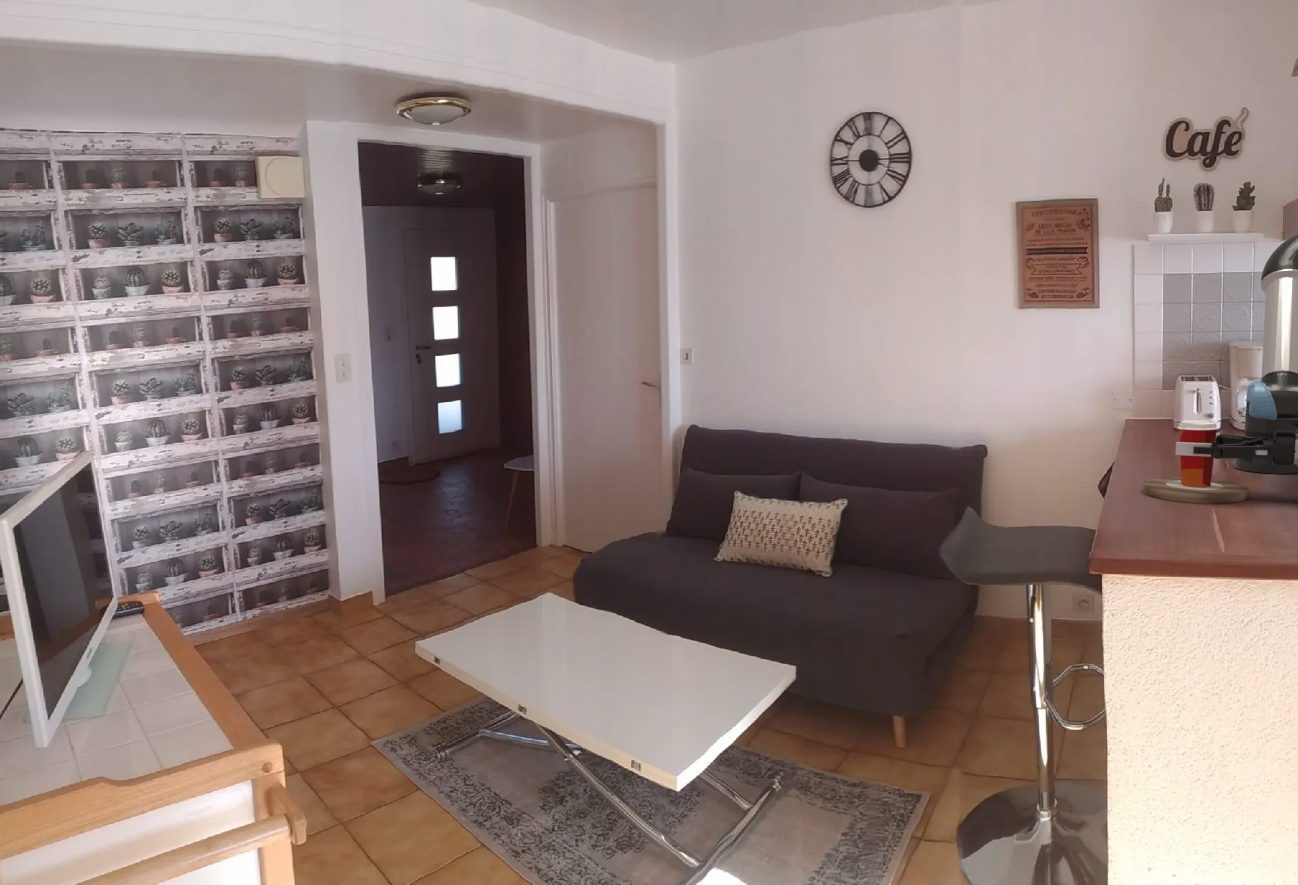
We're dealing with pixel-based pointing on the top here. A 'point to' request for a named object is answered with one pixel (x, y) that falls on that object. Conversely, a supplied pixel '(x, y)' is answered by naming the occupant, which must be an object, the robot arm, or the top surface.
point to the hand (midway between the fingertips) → (1178, 444)
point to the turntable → (1195, 491)
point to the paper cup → (1197, 467)
